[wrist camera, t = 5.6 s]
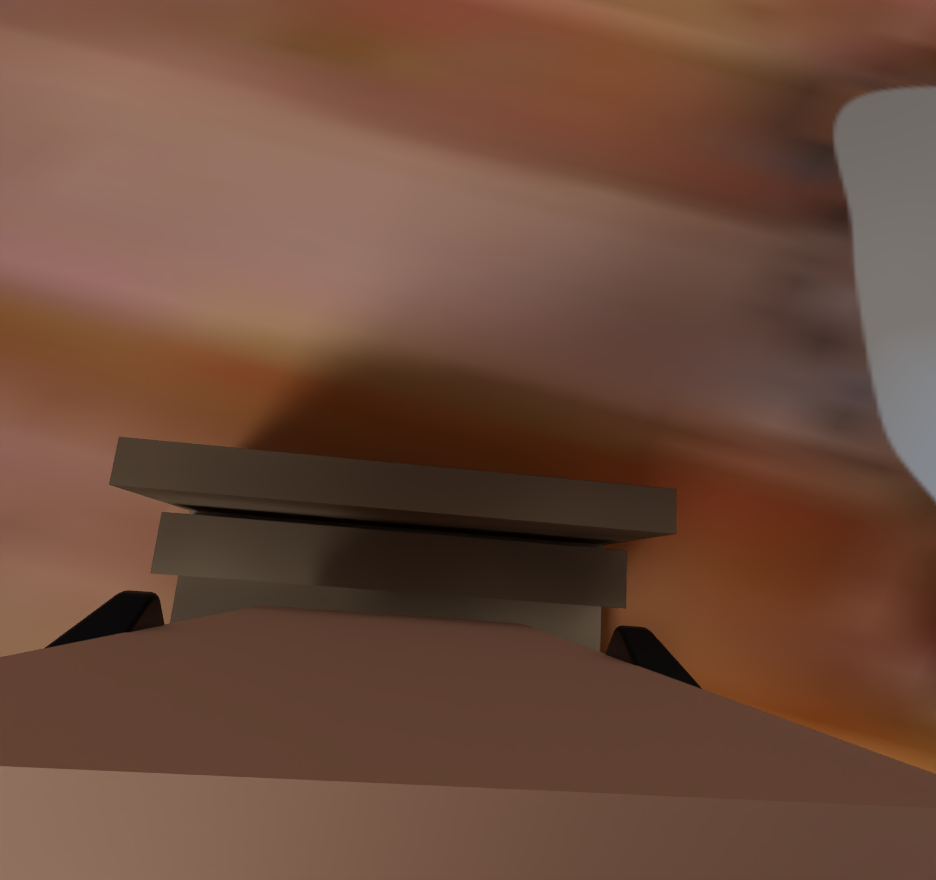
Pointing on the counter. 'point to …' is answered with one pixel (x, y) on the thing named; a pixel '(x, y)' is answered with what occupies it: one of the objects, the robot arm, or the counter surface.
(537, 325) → the counter surface
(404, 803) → the beige flat slab
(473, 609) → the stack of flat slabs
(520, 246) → the counter surface
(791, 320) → the counter surface
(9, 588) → the counter surface
